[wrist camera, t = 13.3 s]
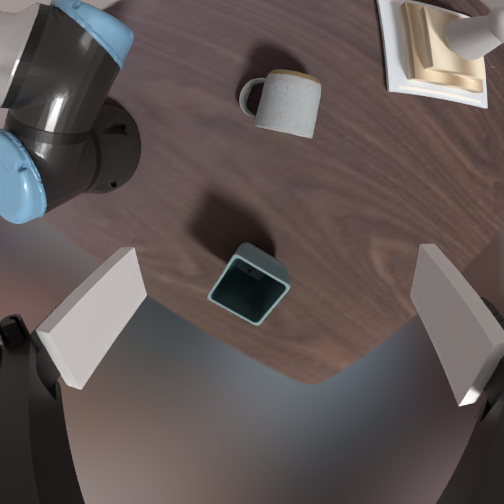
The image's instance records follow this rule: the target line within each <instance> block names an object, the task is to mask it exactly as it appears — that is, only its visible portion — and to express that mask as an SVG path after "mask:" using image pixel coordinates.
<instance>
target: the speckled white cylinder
mask: <svg viewBox="0 0 504 504" xmlns="http://www.w3.org/2000/svg"><path fill="white" fill-rule="evenodd" d="M262 82H265V83H264V87H263V91H262V96H261V99H260V103H259V106H258V110H257V114H256V116H255V115H253V114H252V113H251V112H250V111H249V110H248V108H247V100H248V97H249V94H250V92H251V91H252V87H253V86H254V85H256V84H258V83H262ZM320 96H321V84H320V82H319V81H318V79H316V78H315V77H313V76H310V75H308V74H304V73H301V72H297V71H291V70H283V69H276V70H273V71H271V72H269V74H268V76H267V78H256V79H252V80H250V81H249V82H247V83H246V84H245V85H244V87H243V89H242V90H241V93H240V97H239V105H240V107H241V109H242V111H243V112H244V113H245V114H246V115H248V116H249V117H251V118H253V119H255V122H254V125H255V126H256V127H261V128H266V129H271V130H276V131H281V132H285V133H290V134H294V135H298V136H302V137H307V138H312V137H313V132H314V127H315V122H316V117H317V111H318V106H319V101H320Z"/></svg>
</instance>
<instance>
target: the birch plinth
mask: <svg viewBox="0 0 504 504" xmlns="http://www.w3.org/2000/svg"><path fill="white" fill-rule="evenodd" d="M398 9H399V14H400V20H401V26H402V33H403V40H404V48H405V57H406V67H407V79H408V80H412V81H418V82H424V83H430V84H435V85H441V86H446V87H450V88H455V89H459V90H464V91H468V92H472V93H483V81H482V80H486V74H485V64H484V56H482V57H481V58H479V59H477V60H473V61H469V60H467V59H464V58H461V57H460V56H458V55H457V54H455V53H454V52H452V51H450V50H449V47H448V45H447V43H446V41H445V39H444V36H445V34H446V26H447V25H448V24H449V23H450V22H451V21H452V20H455V19H462V18H464V17H461V16H458V15H455V14H452V13H448V12H445V11H441V10H438V9H434V8H430V7H426V6H422V5H418V4H413V3H409V2H404V3H403V4H402V5H401V6H400V7H399V8H398Z"/></svg>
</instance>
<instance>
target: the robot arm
mask: <svg viewBox="0 0 504 504" xmlns="http://www.w3.org/2000/svg"><path fill="white" fill-rule="evenodd" d="M133 40H134V36H133V32H132V30H131V29H130V28H129V27H128V26H127V25H126V24H124V23H123V22H121V21H120V20H118V19H116V18H115V17H113V16H111V15H110V14H108V13H106V12H104V11H102V10H100V9H98V8H96V7H94V6H92V5H89V4H87V3H83V2H81V1H78V0H52V1H51V3H50V6H49V5H44V4H40V3H35V4H33V5H31V6H30V7H28V8H26V9H25V10H23V11H21V12H18V13H9V12H1V11H0V108H9V110H8V114H7V118H6V121H5V125H4V129H0V215H1V216H2V217H3V218H4V219H6V220H7V221H9V222H12V223H16V224H21V223H25V222H27V221H29V220H31V219H33V218H38V217H41V216H43V215H44V214H45V213H47V212H49V211H50V210H52V209H54V208H56V207H57V206H59V205H61V204H63V203H65V202H67V201H69V200H70V199H72V198H74V197H76V196H78V195H80V194H82V193H96V194H102V193H107V192H111V191H113V190H115V189H117V188H119V187H121V186H122V185H124V184H125V183H126V182H127V181H128V180H129V179H130V178H131V177H132V175H133V174H134V172H135V170H136V168H137V166H138V163H139V159H140V153H141V140H140V135H139V131H138V128H137V126H136V124H135V122H134V120H133V119H132V117H131V116H130V115H129V114H128V113H127V112H126V111H125V110H124V109H122V108H120V107H118V106H115V105H111V104H103V103H104V101H105V99H106V97H107V94H108V92H109V90H110V88H111V86H112V84H113V82H114V80H115V78H116V76H117V74H118V72H119V70H121V69H122V68H123V62H124V60H125V58H126V56H127V54H128V52H129V50H130V48H131V46H132V44H133ZM146 296H147V294H146V291H145V287H144V284H143V280H142V276H141V272H140V268H139V265H138V261H137V257H136V252H135V248H134V247H121V248H120V249H119V250H118V251H116V252H115V253H114V254H113V255H112V256H111V257H110V258H109V259H107V260H106V261H105V262H104V263H103V264H102V265H101V266H100V267H99V268H98V269H96V270H95V271H94V272H93V273H92V274H91V275H90V276H89V277H88V278H87V279H86V280H85V281H84V282H83V283H81V284H80V285H79V286H78V287H77V288H76V289H75V290H74V291H73V292H72V293H71V294H70V295H69V296H68V297H67V298H66V299H65V300H64V301H62V302H61V303H60V304H59V305H58V306H57V307H56V308H55V310H53V311H52V312H51V313H50V314H49V316H47V317H46V318H45V319H44V320H43V321H42V322H41V323H40V324H39V325H38V326H37V327H36V329H35V330H34V331H33V332H32V333H31V334H30V333H29V331H28V329H27V328H26V325H25V323H24V321H23V319H22V317H21V316H20V315H18V314H13V315H9V316H7V317H5V318H4V319H2V320H1V321H0V340H1V342H2V343H3V345H0V504H85V502H84V500H83V496H82V493H81V490H80V486H79V483H78V479H77V475H76V472H75V467H74V464H73V460H72V455H71V450H70V446H69V440H68V435H67V430H66V424H65V418H64V411H63V404H62V396H61V387H60V384H59V382H58V381H57V379H58V378H59V376H60V375H61V376H62V377H63V379H64V381H65V382H66V384H67V385H69V386H71V387H74V388H77V389H80V390H81V389H82V388H83V387H84V385H85V384H86V382H87V380H88V379H89V377H90V376H91V374H92V373H93V371H94V370H95V368H96V367H97V365H98V364H99V362H100V361H101V359H102V358H103V356H104V355H105V354H106V352H107V351H108V349H109V348H110V346H111V345H112V343H113V342H114V341H115V339H116V338H117V336H118V335H119V333H120V332H121V331H122V329H123V328H124V326H125V325H126V323H127V322H128V321H129V319H130V318H131V317H132V315H133V314H134V312H135V311H136V310H137V308H138V307H139V305H140V304H141V303H142V301H143V300H144V299H145V297H146ZM410 298H411V300H412V302H413V304H414V306H415V308H416V310H417V312H418V314H419V316H420V318H421V320H422V321H423V324H424V326H425V328H426V330H427V332H428V334H429V336H430V338H431V341H432V343H433V345H434V347H435V350H436V352H437V354H438V356H439V358H440V361H441V363H442V366H443V368H444V370H445V373H446V375H447V378H448V380H449V383H450V385H451V388H452V390H453V393H454V395H455V398H456V400H457V403H458V406H462V405H466V404H470V403H474V402H476V401H477V400H478V398H479V396H480V395H481V393H482V392H483V390H484V392H485V394H486V397H487V399H486V400H485V402H484V403H483V404H482V406H481V407H480V409H479V410H478V411H477V413H476V414H475V416H474V417H473V418H475V419H476V418H477V416H478V415H479V416H478V419H477V422H476V424H475V427H474V429H473V432H472V434H471V437H470V439H469V441H468V444H467V446H466V448H465V450H464V452H463V455H462V457H461V459H460V461H459V463H458V465H457V467H456V469H455V471H454V473H453V475H452V477H451V478H450V480H449V482H448V484H447V486H446V488H445V489H444V491H443V493H442V494H441V496H440V498H439V500H438V501H437V503H436V504H504V318H503V317H502V316H501V314H499V312H498V311H497V309H496V308H495V307H494V305H493V304H492V303H490V302H489V301H488V300H486V299H485V298H483V297H479V296H478V295H477V293H476V292H475V291H474V290H473V288H472V287H471V286H470V285H469V283H468V282H467V281H466V280H465V278H464V277H463V276H462V275H461V274H460V272H459V271H458V270H457V269H456V268H455V267H454V265H453V264H452V263H451V262H450V261H449V260H448V258H447V257H446V256H445V255H444V254H443V253H442V252H441V251H440V250H439V248H438V247H437V246H436V245H435V244H420V247H419V253H418V259H417V264H416V270H415V275H414V280H413V284H412V289H411V294H410Z"/></svg>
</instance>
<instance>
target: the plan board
mask: <svg viewBox="0 0 504 504" xmlns="http://www.w3.org/2000/svg"><path fill="white" fill-rule="evenodd" d="M376 1H377V7H378V12H379V18H380V25H381V32H382V40H383V48H384V57H385V67H386V80H387V91H390V92H399V93H407V94H414V95H421V96H428V97H434V98H439V99H445V100H450V101H455V102H460V103H464V104H469V105H473V106H477V107H481V108H487V89H486V80H482V81H483V93H472V92H468V91H464V90H459V89H455V88H450V87H446V86H441V85H435V84H430V83H424V82H418V81H412V80H408V79H407V67H406V57H405V48H404V40H403V33H402V26H401V20H400V14H399V9H398V8H399V7H400V6H401V5H402V4H403V3H404V2H409V3H413V4H418V5H422V6H426V7H430V8H434V9H438V10H441V11H445V12H448V13H452V14H455V15H458V16H461V17H464V18H470V17H469V16H466V15H463V14H460V13H457V12H454V11H451V10H447V9H444V8H441V7H437V6H433V5H430V4H426V3H421V2H417V1H413V0H376Z"/></svg>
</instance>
